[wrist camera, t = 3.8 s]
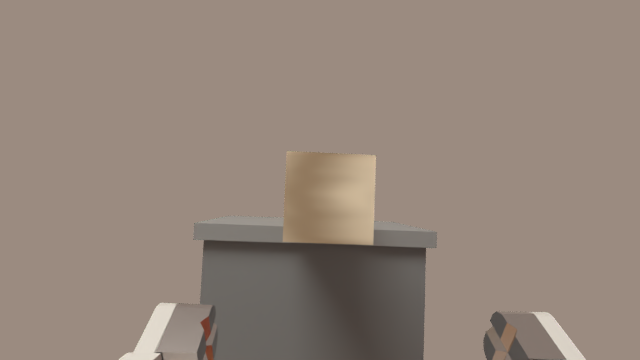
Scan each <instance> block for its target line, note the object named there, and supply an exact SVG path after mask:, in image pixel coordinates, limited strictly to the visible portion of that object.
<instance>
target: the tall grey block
mask: <svg viewBox="0 0 640 360" xmlns="http://www.w3.org/2000/svg"><path fill="white" fill-rule="evenodd" d="M283 223H284V218H272V217H246V216H226V217H221V218H216V219H212V220H207V221H202V222H197V223H194V240H204V248H203V265H202V282H201V297H200V304H203V305H214V306H215V310H216V317H215V320H214V323H215V324H216V325H217V329H218V340H217V347H216V353H215V357H214V360H423V351H424V350H423V349H424V308H425V263H426V248H436V246H437V244H436V243H437V242H436V241H437V232H434V231H430V230H426V229H421V228H417V227H412V226H408V225H404V224H399V223H395V222H378V221H374V237H373V245H357V244H329V243H300V242H283Z"/></svg>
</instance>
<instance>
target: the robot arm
mask: <svg viewBox="0 0 640 360" xmlns="http://www.w3.org/2000/svg"><path fill="white" fill-rule="evenodd" d="M215 317H216V310H215V306H214V305H203V304H182V303H178V304H176V303H160V304H159V305H158V306H157V307H156V308H155V310H154V312H153V314H152V316H151V318H150V320H149V322H148V324H147V326H146V328H145V331H144V332H143V334H142V336H141V338H140V340H139V342H138V344H137V346H136V348H135V350H134V352H133V353H126V354H125V355H124V356H123V357H121V358H120V359H119V360H214V357H215V353H216V347H217V340H218V329H217V325H216V324H215V323H214V320H215ZM490 321H491V323H492V325H493V327H492V328H490V329H489V330H488V331H486V334H485V337H484V352H485V355H486V358H487V360H586V359H585V358H584V357H583V355H582V354H581V353H580V351H579V350H578V349H577V348H576V346H575V345H574V344H573V342H572V341H571V340H570V338H569V337H568V336H567V335H566V333H565V332H564V331H563V329H562V328H561V327H560V325H559V324H558V323H557V322H556V320H555V319H554V318H553V316H552V315H550V314H549V313H547V312H498V311H496V312H495V313H494V314H493V315H492V317H491V320H490Z"/></svg>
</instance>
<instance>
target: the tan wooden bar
mask: <svg viewBox="0 0 640 360" xmlns="http://www.w3.org/2000/svg"><path fill="white" fill-rule="evenodd" d="M375 172H376V155H358V154H337V153H316V152H296V151H295V152H294V151H287V160H286V180H285V181H286V182H285V202H284V223H283V242H300V243H329V244H357V245H373V237H374V205H375V204H374V203H375Z"/></svg>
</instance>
